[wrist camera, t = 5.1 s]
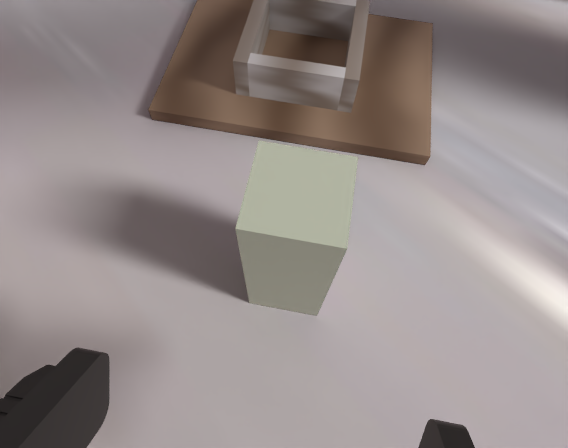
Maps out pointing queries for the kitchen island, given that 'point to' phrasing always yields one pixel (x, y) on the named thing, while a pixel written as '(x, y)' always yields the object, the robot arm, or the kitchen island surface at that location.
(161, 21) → the kitchen island surface
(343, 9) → the board
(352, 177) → the post
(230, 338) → the kitchen island surface
